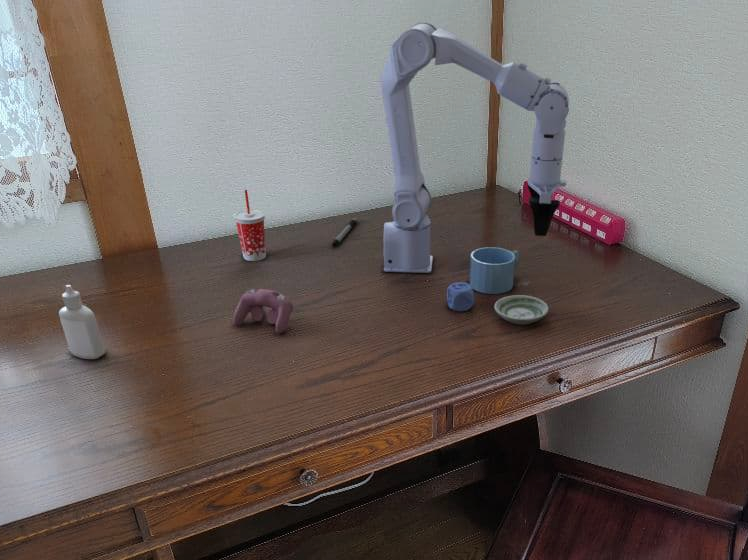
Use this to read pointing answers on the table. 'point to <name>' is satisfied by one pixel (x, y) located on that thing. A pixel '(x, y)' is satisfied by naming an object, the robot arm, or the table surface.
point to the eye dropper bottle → (80, 327)
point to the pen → (344, 232)
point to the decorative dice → (460, 296)
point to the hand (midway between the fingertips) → (539, 227)
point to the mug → (493, 269)
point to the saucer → (521, 309)
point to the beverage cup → (251, 232)
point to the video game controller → (255, 303)
